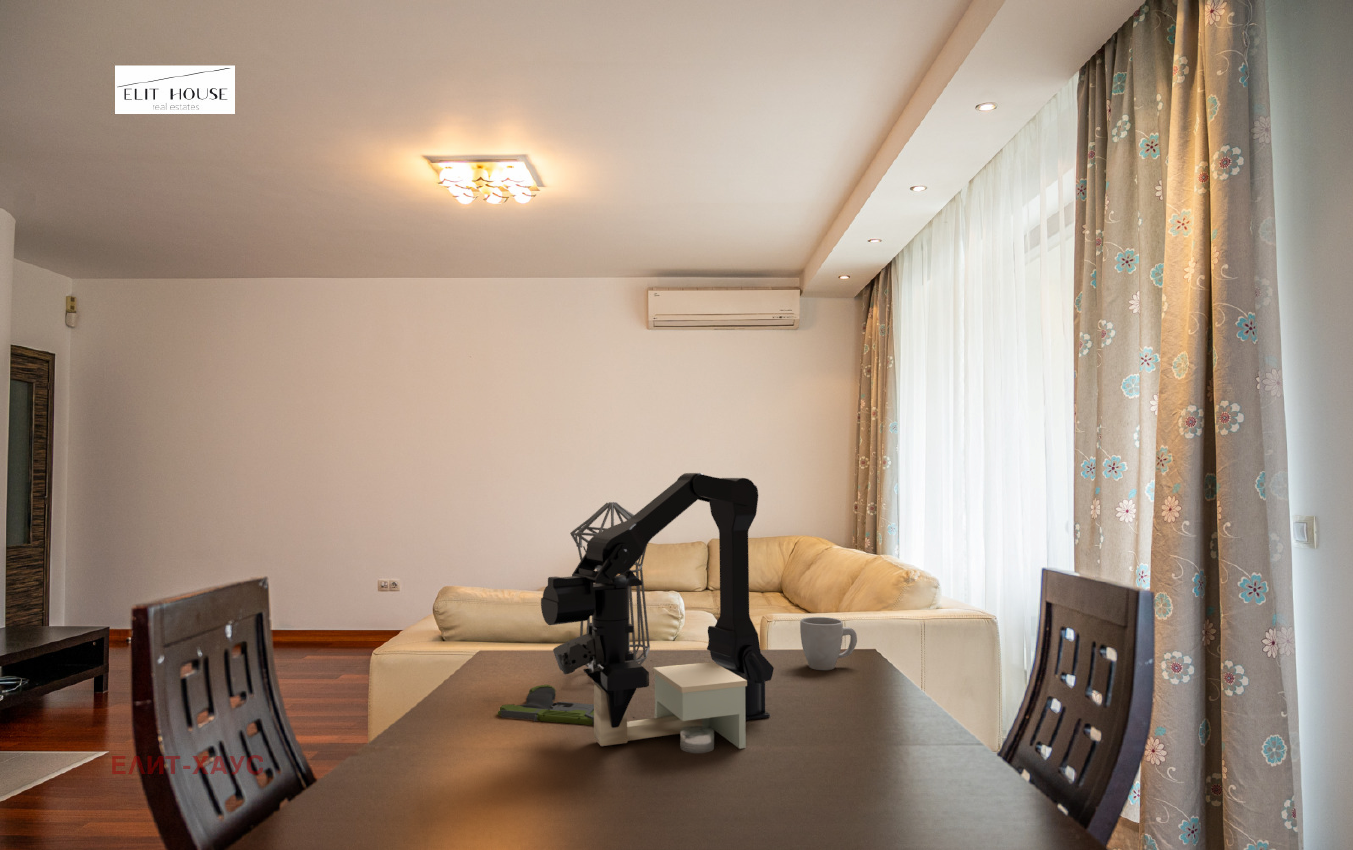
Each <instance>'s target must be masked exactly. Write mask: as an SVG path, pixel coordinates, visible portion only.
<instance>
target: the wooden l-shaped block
mask: <svg viewBox="0 0 1353 850" xmlns="http://www.w3.org/2000/svg"><path fill="white" fill-rule="evenodd" d="M593 704H594V725H593V738H594V739H595V741H596V742H597V744H599V745H600V747H604V746H613V745H620V744H627V743H628V741H636V740H643V739H649V738H650V739H651V738H655V737H656V738H657V737H662V736H663V737H665V736H670V735H671V736H673V735H678V734H679V735H680V730H681V729H682V728H684V727H687V726H695V725H699V726H702V719H695V720H687V721H682V720H681V719H680V718H678V717H677V716H676V715H675V716H667V717H660V718H655V717H653V718H646V719H636V720H630V721H628V708H627V709H626V712H625V714H624V716H623V718H622V721H621V723H620V725H619V727H615V728H612V727H611V722H610V717H609V710H608V703H607V697H606V692H605V691H604V690H603V689H602V688H601V687H600V686H599V685H597V684H595V683H593Z"/></svg>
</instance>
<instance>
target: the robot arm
mask: <svg viewBox="0 0 1353 850" xmlns="http://www.w3.org/2000/svg"><path fill="white" fill-rule="evenodd" d="M697 501H702V502H706V503H709V508H710V509H709V510H710V514H711V517H712V519H713V521H714V523H715V525H716V527H717V529H718V535H719V537H718V539H719V543H718V544H719V610H720V611H719V617H718V619H717V621H716V623H715V625H714V626H713V625H709V626H708V627H707V637H708V645H707V647H706V650H707V651H709V652H710V657H711V660H712V661H713V662H714V663H716V664H718V665H720V666H722V667H723V668H725V669H727V670H729V671H731V672H732V673H734V674H736V675H738V676H740V677H742V678H743V679H745V680H747V686H745V721H746V720H754V719H763V718H764V719H766V718H770V717H771V713H770V712H768V711H766V682H770V681H772V677H773V674H774V670H775V668H774V666H773V665H772V663H771V662H769V661H768V660H767V658H766V656H764V655H763V654H762V653H761V645H760V644H761V643H760V640H759V639H760V638H759V633H758V631H757V629H756V627H755V625H754V622H753V621H752V619H751V615H750V574H749V573H750V570H749V569H750V566H749V560H750V559H749V530H750V527H752V523H753V522H754V519H755V518H756V516H757V512H758V503H759V490H758V487H757V485H756V484H754V482H753V481H752V480H750V479H749V478H745V477H715V476H711V475H706V474H704V473H702V472H687V473H686V472H685V473H683V474H681V475H680V476H679V477H678V478H677V480H675V481H674V483H672V484H671V485H670V486H669V487H668V488H666V489H664V490H663V491H662V492H661V493H660V494H659V495H657V496H656V497H655V498H653V500H651V501H650V502H649V503H647V504H646V505H645V506H643V508H641V509H640V510H639V511H637V512H636V513H635V514H633V515H634V516H633V517H631V518H630V519H628V520H624V521H623V522H622V523H621V522H620V523H617V524H614V526H612V527H611V526H609V527H607V529H606V530H604V531H602V532H600V533H598V532H597V533H598V534H596V535H595V536H591V538H590V539H589V542H588V543H586V553H584V555H583V556H582V560H580V561H579V563H578V564H577V566H576V568H575V569H574V571H573V572H572V574H571V575H570V576H564V577H563V576H561V577H560V576H548V578H547V585H546V587H545V588H544V590H543V593H542V597H541V598H540V608H541V610H540V611H541V614H542V617H543V620H544V622H545V623H546V624H547V625H548V626H556V625H562V624H563V625H564V624H570V623H571V624H573V623H581V621H583V622H587V620H588V619H589V617H590V618H591V622H590V623H588V625H587V624H586V633H585V634H583V635H582V636H580V635H579V636H578V637H575V638H572V639H570V640H568V641H566V642H564V643H562V644H560V645H557V646H555V647H554V648H553V649H552V652H553V654H554V656H555V660H556V662H557V665H558V668H559V670H560V671H562V673H563V674H564V675H570V674H572V673H574V672H575V671H576V670H577V669H580V668H582V667H584V666H585V665H586V664H587V665H588V667H587V668H584V669H583V672H584V673H585V674H586V675H587V676H588V677H589V678H590V679H591V680H592V681H593V684H597V685H599V686H600V687H601V688H602V689H603V690H604V691H605V692H606V697H607V703H608V710H609V717H610V722H611V727H612V728H615V727H619V725H620V723H621V721H622V718H623V716H624V714H625V712H626V709H627V710H628V707H629V705H630V703H631V701H632V699H633V697H634V695H635V693H636V691H637V690H638V689H641V688H648V687H649V686H650V672H649V671H648V670H647V669H646V668H645V667H644V666H642V664H641V665H640V662H638V663H637V662H636V661H635V662H625V661H632V660H634V653H633V651H631V647H630V645H631V644H630V643H631V641H630V640H631V639H630V634H632V633H634V631H635V625H634V626H633V625H631V613H630V598H629V587H631V588H632V587H636V586H640V587H641V585H642V581H641V578H640V577H639V578H637V577H636V574H635V573H633V571H631V570H632V568H633V567H634V566H635V565H634V564H635V563H636V562H637V563H638V561H639V558H640V557H641V558H642V555H643V553H644V550H645V548H646V549H647V547H648V545H649V543H650V541H651V540H652V539H653V538H654V537H655V536H657V535H658V534H659V533H660V532H662V531H663V530H664V529H665V528H666V527H667V526H668V525H669V524H671V523H672V522H673V521H674V520H676V519H677V518H678V517H679V516H681V514H683V513H684V512H685V511H686V510H688V508H689V507H691V506H692V505H694V503H695V502H697ZM648 542H649V543H648ZM646 546H647V547H646ZM597 570H599V571H597Z"/></svg>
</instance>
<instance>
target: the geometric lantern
mask: <svg viewBox="0 0 1353 850" xmlns="http://www.w3.org/2000/svg"><path fill="white" fill-rule="evenodd" d="M605 511H606V513H605V515H604V516H603V517H604V518H603V519H602V523H601V525H600V527H595V526H591V525H592V524H593V523H594V522H595V521H596V520H597V519H598V518H599V517H601V515H603V513H604V512H605ZM609 513H610V527H612V526H614V525H615V519H614V518H615V517H614V515H615V513H616V515H617V516H618V519H619V521H620V523H622V522H624V520H623V518H624V519H625V521H627V520H628V519H630V518H631V517H633V516H634V515H635V514H633V512H630V511H628V510H627V509H626V508H624V507H623V506H622V505H620V504H619V503H618V502H614V501H613V502H611V501H610V502H606V503H604V505H602V506H601V507H600V508H599V509H598V510H597V511H596V512H594V513H593V514H592V515H591V516H589V518H587V519H586V520H585V521H583V523H581V524H580V525H578V526H577V527H576V528H574V529H573V530H572V531H571V532H570V536H571V538H572V540H573V541H574V543H575V545H576V547H577V550H578V555H579V560H580V561H581V560H582V558H583V555H582V549H581V548H583V550H584V552H585V553H586V550H587V548H586V546H585V545H583V541H584V542H585V543H586V544H587V543H588V542H589V540H590V539H589V540H588V539H587V538H585V537H584V536H589V537H593V536H595V535H596V534H598V533H600V532H602V531H604V530H606V529H607V528H608V527H607V528H605V524H606V522H607V519H608V517H609ZM586 530H587V531H589V532H586ZM649 543H650V541H649V542H648V544H649ZM647 547H648V545H647V546H646V548H645V550H644V553H643V555H642V556H641V557H640V558H639V559H638V561H637V562H636V563H635V564H634V565H633V566H635V569H630V570H631V571H633V573H634V574H635V576H636V577H637V578H639V579H640V580H641V581H642V585H641V586H635V587H636V591H635V592H636V612H637V614H636V615H637V616H636V617H637V618H636V619H637V622H636V623H637V643H636V633H635V630H634V633H631V638H632V639H631V640H632V644H630V648H632V653H634V660H632V661H625V662H635V661H636V662H637V663H639V664H640V665H641V666H642V664H643V663H644V662H645V661H646V660H647V658H648V655H649V652H650V648H651V645H650V644H651V643H650V636H649V635H650V633H649V625H648V615H647V613H648V612H647V606H646V605H647V604H646V594H645V584H644V582H645V581H644V573H643V565H644V559H645V555H646V551H647ZM585 553H584V554H585ZM596 571H599V570H596ZM632 590H633V589H632V587H629V601H630V624H631V625H633V626H634V627H635V618H634V616H635V615H634V605H633V593H632V592H633V591H632ZM642 606H643V607H642ZM643 616H644V617H643ZM643 618H644V619H643ZM579 623H580V624H579V625H580V626H579V637H580V636H582V635H584V621H580V622H579ZM588 623H591V616H590V617H589V619H588V620H586V626H587V625H588ZM644 625H645V626H644ZM644 628H645V629H644ZM645 636H646V637H645ZM645 639H646V640H645ZM641 643H642V644H641ZM640 648H642V651H643V652H642V653H641V654H640V655H639V656H638V657H637V654H638V652H639V649H640ZM584 666H585V667H587V668H588V664H586V665H584Z"/></svg>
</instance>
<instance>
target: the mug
mask: <svg viewBox="0 0 1353 850" xmlns="http://www.w3.org/2000/svg"><path fill="white" fill-rule="evenodd" d="M799 623H800V624H799V626H800V628H799V629H800V632H799V633H800V640H801V646H802V650H803V654H804V656H805V659H806V661H807V663H808V668H810V669H812V670H815V671H816V670H817V671H831V670H834V669H835V668H836V663H837V661H838V659H844V658H847V657H848V656H850V655H852V654H853V652H854V650H855V648H856V647H857V643H858V635H857V632H856V630H855V629H854V628H852V627H849V626H846V627H845V626H844V627H843V621H842V620H841V619H838V618H834V617H825V616H811V617H810V616H809V617H803V618H801V619H800V622H799ZM843 636H844V637H845V636H849V637H850V639H849V644H848V647H847V649H845V650H844V651H843V652H841V650H842V643H843Z"/></svg>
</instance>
